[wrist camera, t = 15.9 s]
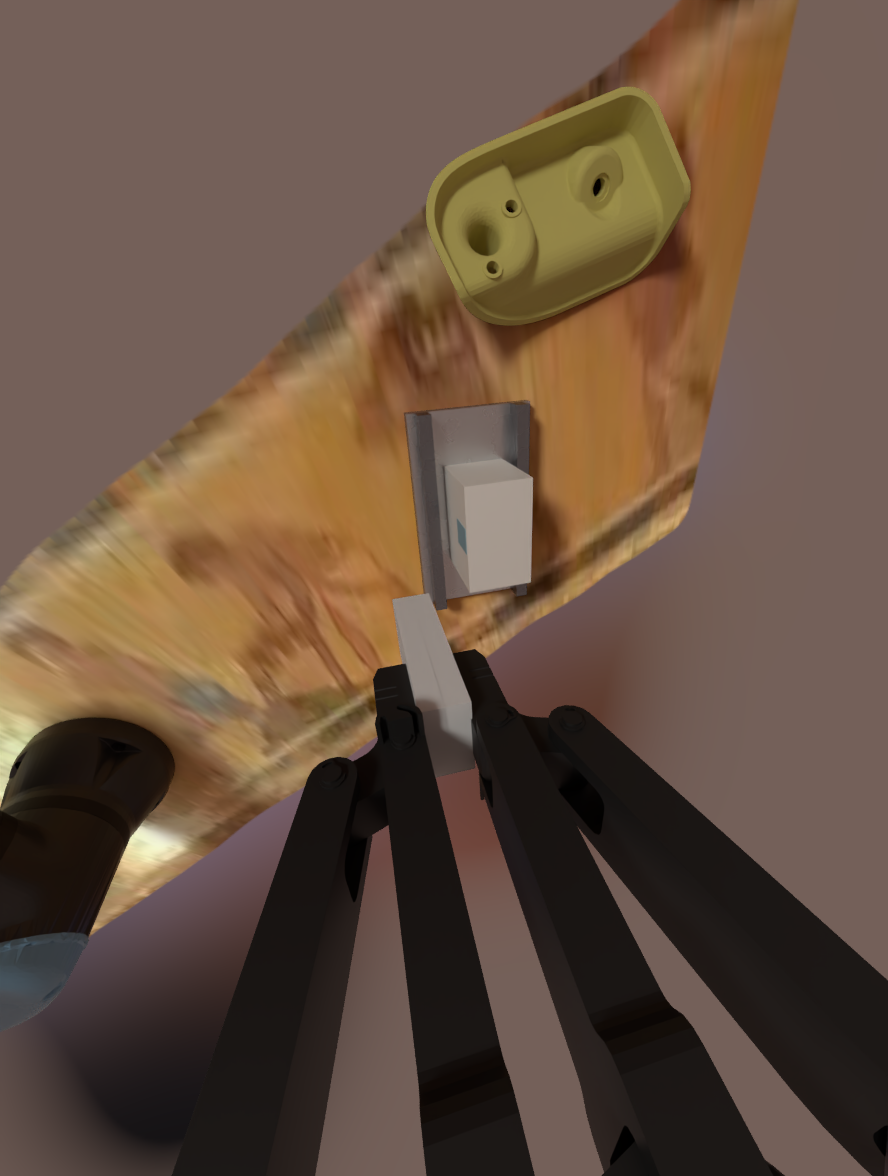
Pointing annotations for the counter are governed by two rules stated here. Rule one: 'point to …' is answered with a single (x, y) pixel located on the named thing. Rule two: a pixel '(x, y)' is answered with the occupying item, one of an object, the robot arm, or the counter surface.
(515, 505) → the block
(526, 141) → the plastic component
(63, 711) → the counter surface
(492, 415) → the grey channel bracket
